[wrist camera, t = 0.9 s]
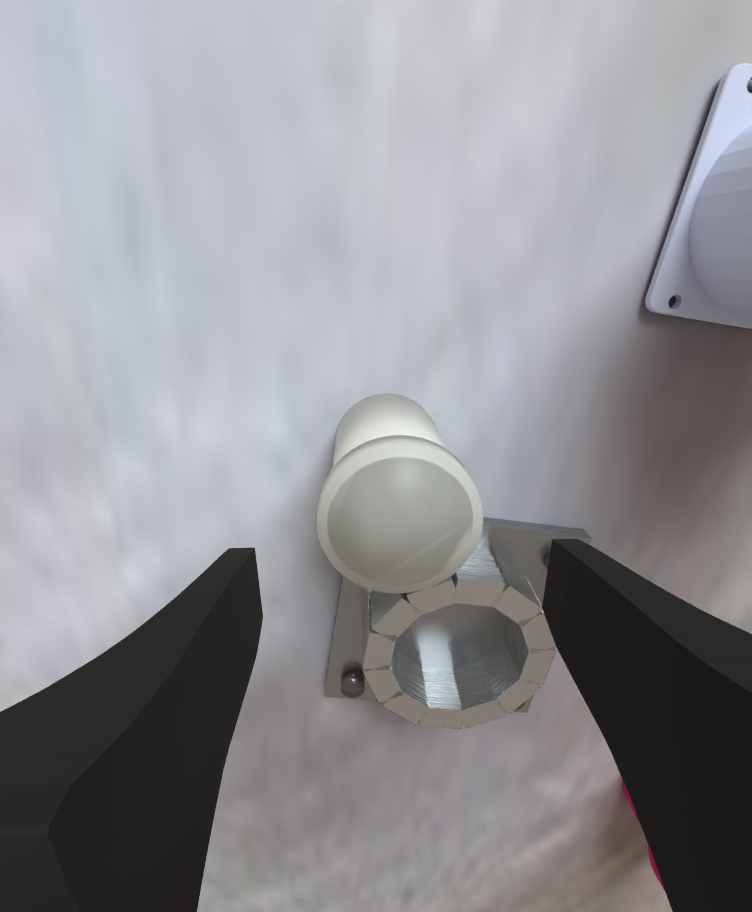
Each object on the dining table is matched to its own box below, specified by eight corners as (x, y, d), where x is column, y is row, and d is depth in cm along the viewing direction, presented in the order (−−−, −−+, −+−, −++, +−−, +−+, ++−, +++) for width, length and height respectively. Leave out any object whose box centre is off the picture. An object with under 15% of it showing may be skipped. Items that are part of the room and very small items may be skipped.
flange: (583, 529, 23) (617, 569, 20) (522, 700, 27) (542, 754, 24) (353, 501, 22) (353, 539, 19) (325, 683, 26) (321, 738, 23)
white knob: (454, 395, 20) (501, 459, 14) (431, 501, 22) (463, 600, 16) (336, 378, 20) (327, 436, 13) (322, 487, 22) (308, 584, 15)
